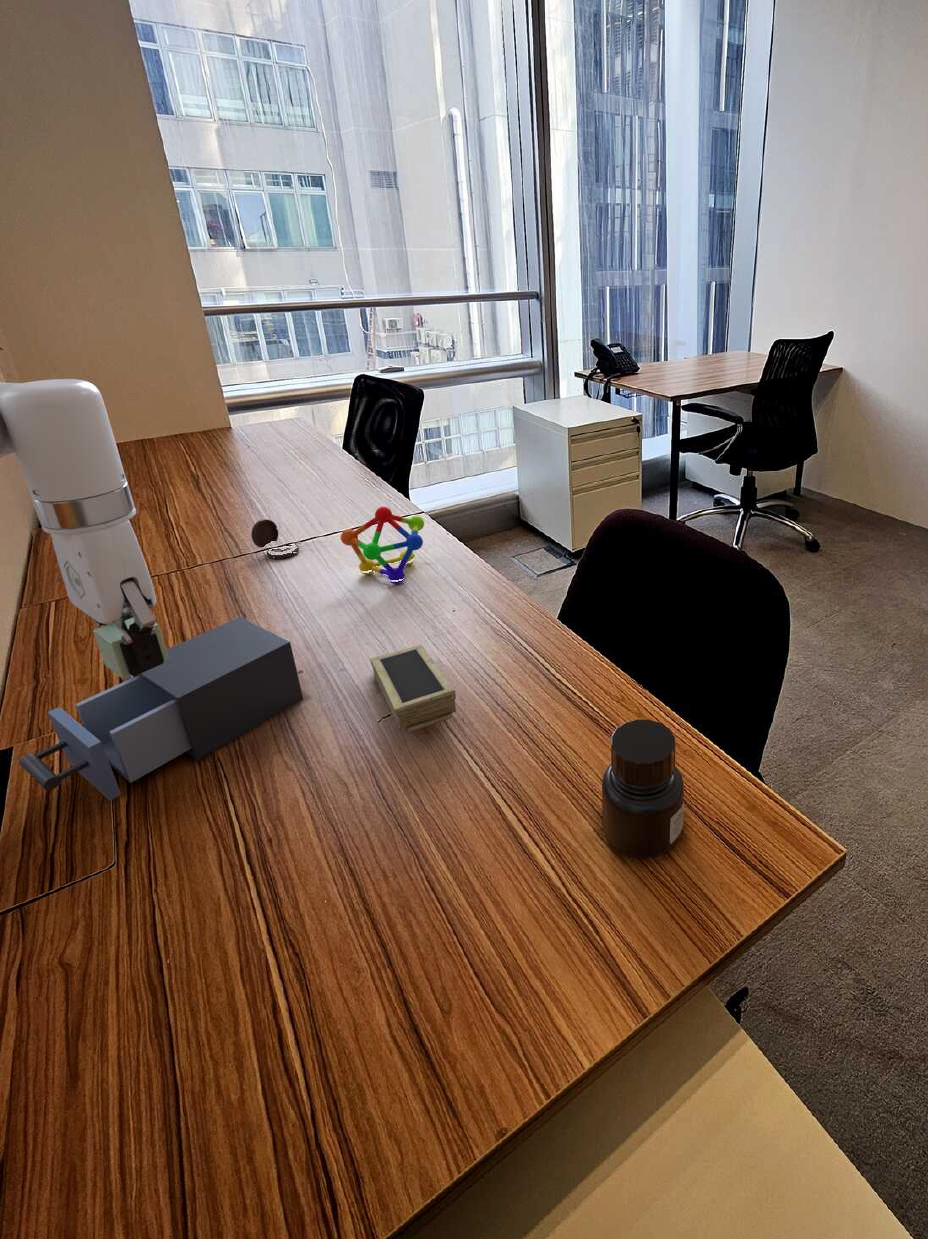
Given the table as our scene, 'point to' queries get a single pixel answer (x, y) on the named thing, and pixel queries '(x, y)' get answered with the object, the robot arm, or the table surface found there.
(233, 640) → the cabinet
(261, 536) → the compass
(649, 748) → the ink bottle
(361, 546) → the educational toy
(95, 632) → the block
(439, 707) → the box
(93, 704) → the drawer
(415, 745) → the table surface
